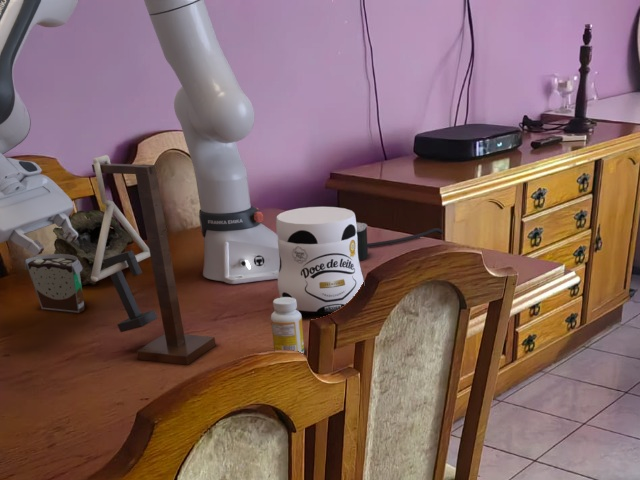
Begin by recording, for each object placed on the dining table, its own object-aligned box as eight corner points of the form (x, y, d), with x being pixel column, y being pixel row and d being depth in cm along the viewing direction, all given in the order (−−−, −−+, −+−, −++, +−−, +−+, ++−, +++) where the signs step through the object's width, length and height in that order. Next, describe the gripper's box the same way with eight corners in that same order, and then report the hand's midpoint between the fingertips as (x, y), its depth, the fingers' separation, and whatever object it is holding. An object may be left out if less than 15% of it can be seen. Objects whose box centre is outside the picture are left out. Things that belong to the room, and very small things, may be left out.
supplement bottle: (289, 361, 146) (283, 307, 141) (268, 354, 149) (262, 301, 144) (311, 352, 150) (306, 299, 144) (290, 346, 153) (285, 293, 147)
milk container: (332, 326, 161) (325, 229, 151) (262, 312, 169) (251, 219, 159) (381, 301, 173) (378, 210, 163) (314, 290, 181) (307, 202, 171)
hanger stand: (104, 364, 147) (58, 165, 129) (158, 332, 161) (123, 147, 143) (176, 372, 143) (139, 168, 125) (225, 338, 157) (198, 150, 139)
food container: (103, 304, 176) (93, 255, 170) (85, 313, 171) (73, 263, 166) (55, 299, 179) (43, 251, 174) (35, 308, 175) (22, 259, 169)
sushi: (364, 262, 199) (362, 227, 195) (330, 261, 200) (328, 226, 196) (371, 253, 206) (370, 219, 201) (338, 252, 207) (336, 218, 202)
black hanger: (120, 332, 150) (89, 264, 144) (136, 323, 154) (106, 257, 148) (152, 324, 147) (121, 254, 141) (167, 315, 151) (138, 247, 145)
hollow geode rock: (122, 277, 209) (73, 231, 205) (151, 240, 204) (101, 193, 199) (70, 309, 186) (13, 258, 181) (101, 269, 180) (43, 215, 176)
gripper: (-42, 182, 135) (25, 248, 138) (41, 160, 151) (100, 219, 154) (-55, 210, 139) (10, 273, 141) (28, 186, 155) (85, 243, 157)
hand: (57, 245), depth 148 cm, fingers open, 8 cm apart
